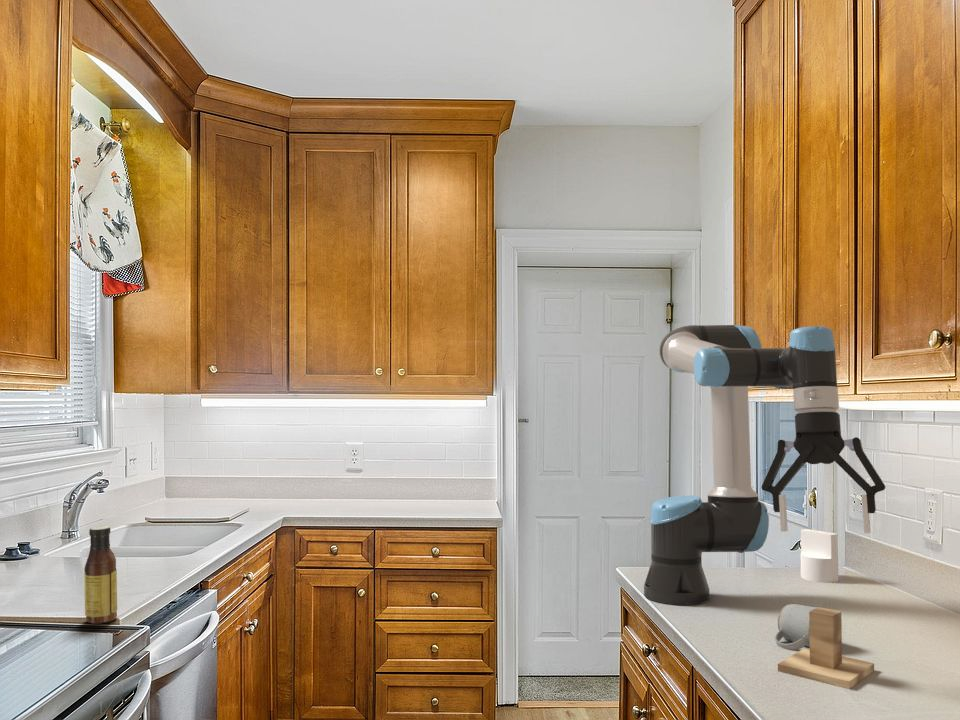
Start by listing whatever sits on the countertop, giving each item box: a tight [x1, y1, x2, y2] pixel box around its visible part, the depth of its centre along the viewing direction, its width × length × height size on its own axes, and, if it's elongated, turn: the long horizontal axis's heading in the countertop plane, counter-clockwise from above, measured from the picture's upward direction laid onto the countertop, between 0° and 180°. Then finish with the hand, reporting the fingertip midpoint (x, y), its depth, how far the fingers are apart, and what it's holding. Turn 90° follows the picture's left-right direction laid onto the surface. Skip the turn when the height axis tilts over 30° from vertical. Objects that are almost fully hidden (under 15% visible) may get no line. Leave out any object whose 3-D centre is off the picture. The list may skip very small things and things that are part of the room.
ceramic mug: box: [774, 603, 817, 651], centre depth 156 cm, size 11×8×8 cm
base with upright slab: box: [800, 528, 839, 584], centre depth 210 cm, size 9×9×12 cm
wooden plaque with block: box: [777, 606, 875, 690], centre depth 141 cm, size 12×12×10 cm
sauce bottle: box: [83, 525, 118, 625], centre depth 172 cm, size 6×6×20 cm
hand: (824, 532), depth 143 cm, fingers open, 13 cm apart
